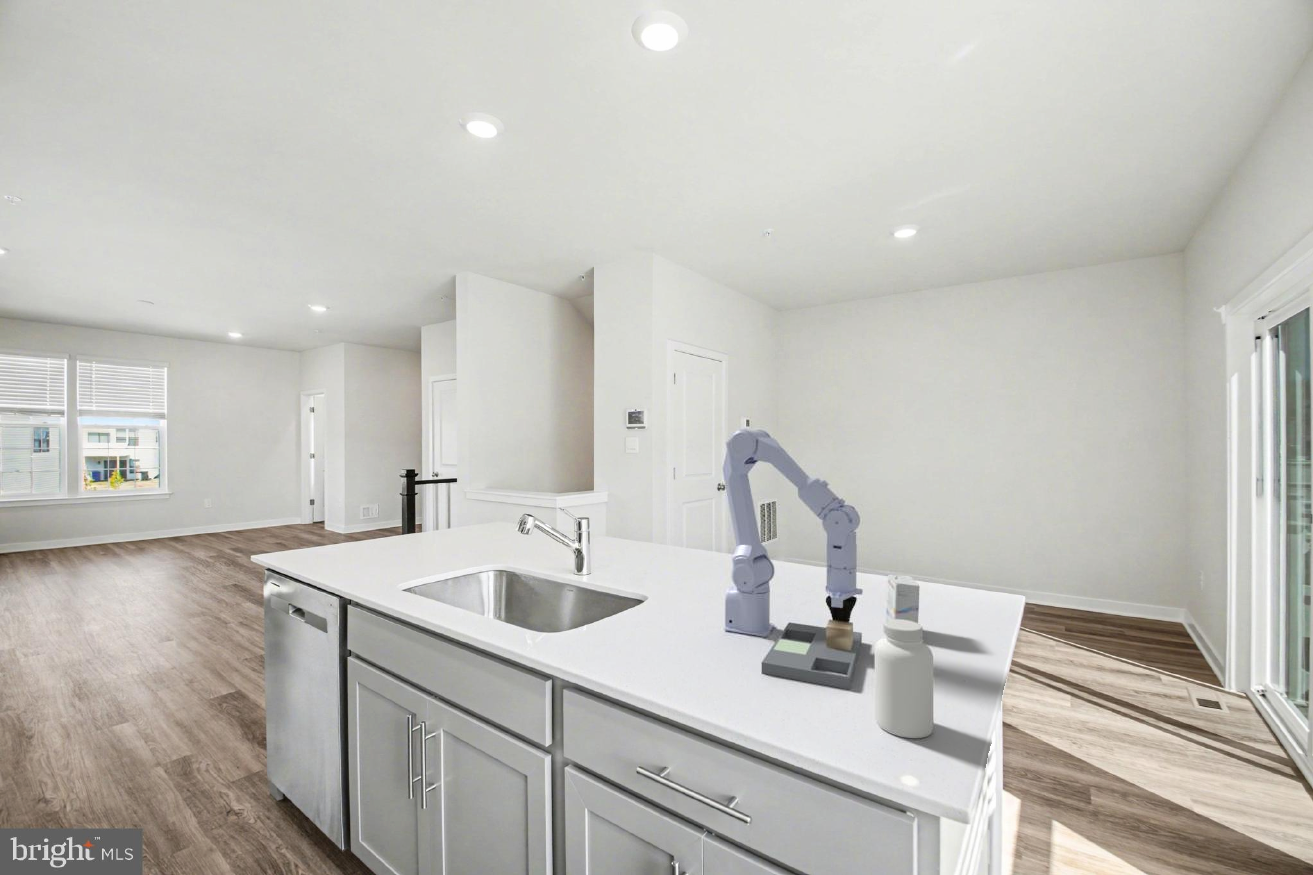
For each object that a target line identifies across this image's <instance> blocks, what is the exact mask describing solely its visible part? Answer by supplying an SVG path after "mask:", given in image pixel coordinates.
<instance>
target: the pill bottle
mask: <svg viewBox="0 0 1313 875" xmlns="http://www.w3.org/2000/svg"><path fill="white" fill-rule="evenodd" d="M923 636H924V631H923V626H922V625H921V624H920V623H919V622H918V623H916V622H913V621H908V620H901V619H891V620H887V621H886V620H885V621H884V622H883V637H882V638H880V639H879V640H878V641H877V642H876V644H875V646H874V718H875V719H874V720H875V722H876V724H877V726H879V727H880V729H882V730H883V731H885V732H887V733H890V734H891V735H895V736H897V737H902V738H906V739H923V738H925V737H928V736H930V735H931V734H932V732H933V730H934V655H933V652H932V650H931V648H930V647H929V646H928V645H927V644H926V643H924V637H923Z"/></svg>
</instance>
